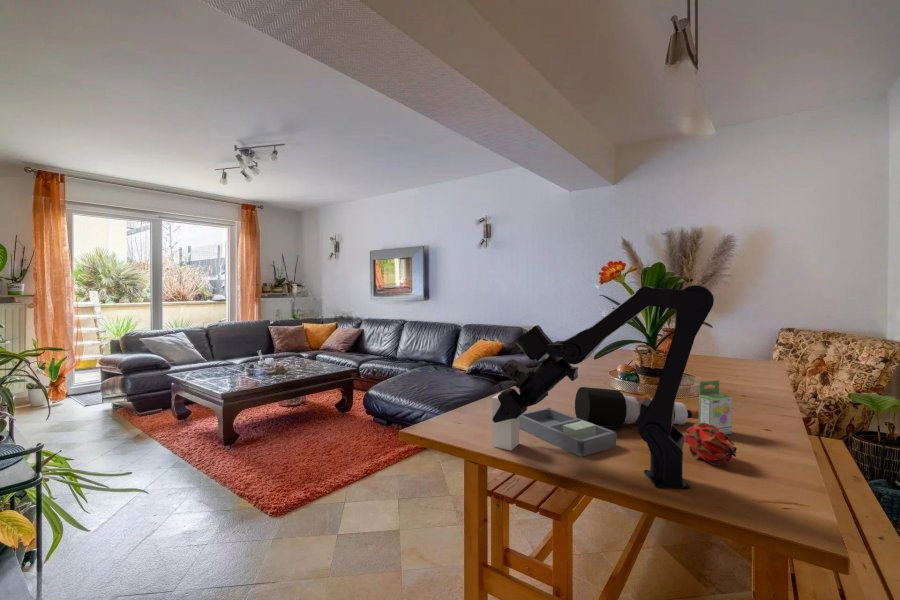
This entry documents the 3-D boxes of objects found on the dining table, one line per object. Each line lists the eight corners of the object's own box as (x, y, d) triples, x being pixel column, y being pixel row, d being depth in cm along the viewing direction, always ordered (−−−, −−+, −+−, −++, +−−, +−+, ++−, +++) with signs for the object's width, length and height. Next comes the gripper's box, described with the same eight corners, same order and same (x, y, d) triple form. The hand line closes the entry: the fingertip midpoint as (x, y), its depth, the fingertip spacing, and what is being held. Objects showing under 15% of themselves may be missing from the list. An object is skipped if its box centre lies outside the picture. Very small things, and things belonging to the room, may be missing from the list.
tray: (616, 446, 98) (616, 428, 98) (580, 457, 92) (581, 437, 92) (548, 419, 118) (548, 404, 118) (516, 426, 112) (516, 410, 112)
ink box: (711, 437, 104) (712, 385, 103) (697, 431, 108) (698, 381, 107) (732, 434, 106) (733, 383, 105) (718, 429, 109) (719, 379, 109)
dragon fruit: (688, 453, 97) (732, 484, 86) (666, 436, 95) (707, 466, 84) (710, 425, 97) (756, 452, 86) (688, 408, 95) (733, 433, 83)
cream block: (519, 443, 100) (519, 395, 100) (511, 450, 96) (510, 400, 96) (500, 439, 103) (500, 392, 103) (492, 446, 99) (491, 397, 99)
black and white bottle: (700, 441, 113) (716, 414, 108) (582, 432, 110) (593, 405, 105) (682, 414, 122) (696, 389, 117) (571, 406, 119) (581, 379, 114)
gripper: (536, 344, 104) (497, 382, 111) (506, 355, 89) (462, 398, 95) (566, 379, 101) (524, 415, 107) (540, 396, 85) (493, 438, 91)
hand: (501, 415), depth 100 cm, fingers open, 9 cm apart
